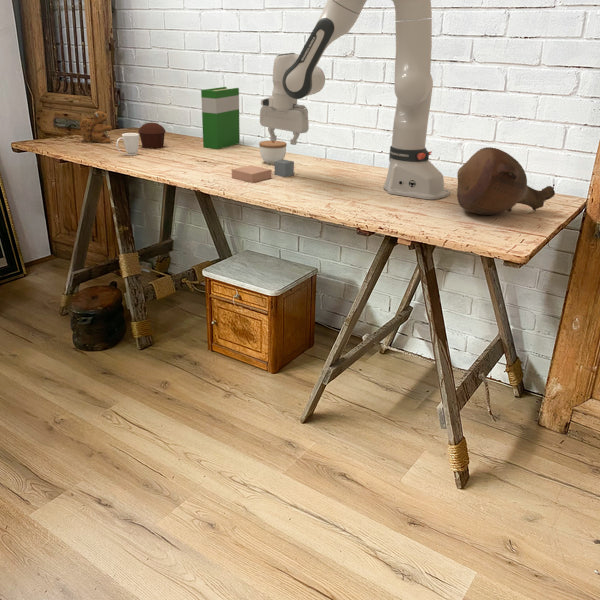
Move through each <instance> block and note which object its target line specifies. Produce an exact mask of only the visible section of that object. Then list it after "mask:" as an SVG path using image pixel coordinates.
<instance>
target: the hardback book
mask: <svg viewBox="0 0 600 600" xmlns="http://www.w3.org/2000/svg"><path fill="white" fill-rule="evenodd" d="M200 92H201V93H200V95H201V97H200V98H201V118H202V119H201V120H202V139H203V140H202V142H203V143H202V144H203V145H202V146H203V148H204V149H211V150H220V149H223V148H227V147H231V146H232V147H233V146H235V145H238V144H240V143H241V141H240V140H241V139H240V137H241V136H240V135H241V134H240V132H241V131H240V130H241V129H240V88H239V87H234V88H232V87H231V88H227V86H220V87H214V88H213V87H212V88H205V89H201V90H200Z"/></svg>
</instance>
